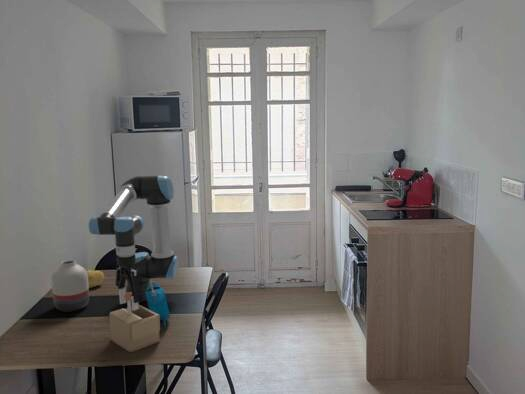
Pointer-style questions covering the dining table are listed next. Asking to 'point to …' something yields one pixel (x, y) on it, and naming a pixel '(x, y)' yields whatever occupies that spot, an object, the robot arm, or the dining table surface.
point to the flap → (126, 312)
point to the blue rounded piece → (157, 301)
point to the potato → (94, 278)
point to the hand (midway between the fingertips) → (129, 306)
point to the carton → (136, 330)
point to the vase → (70, 287)
